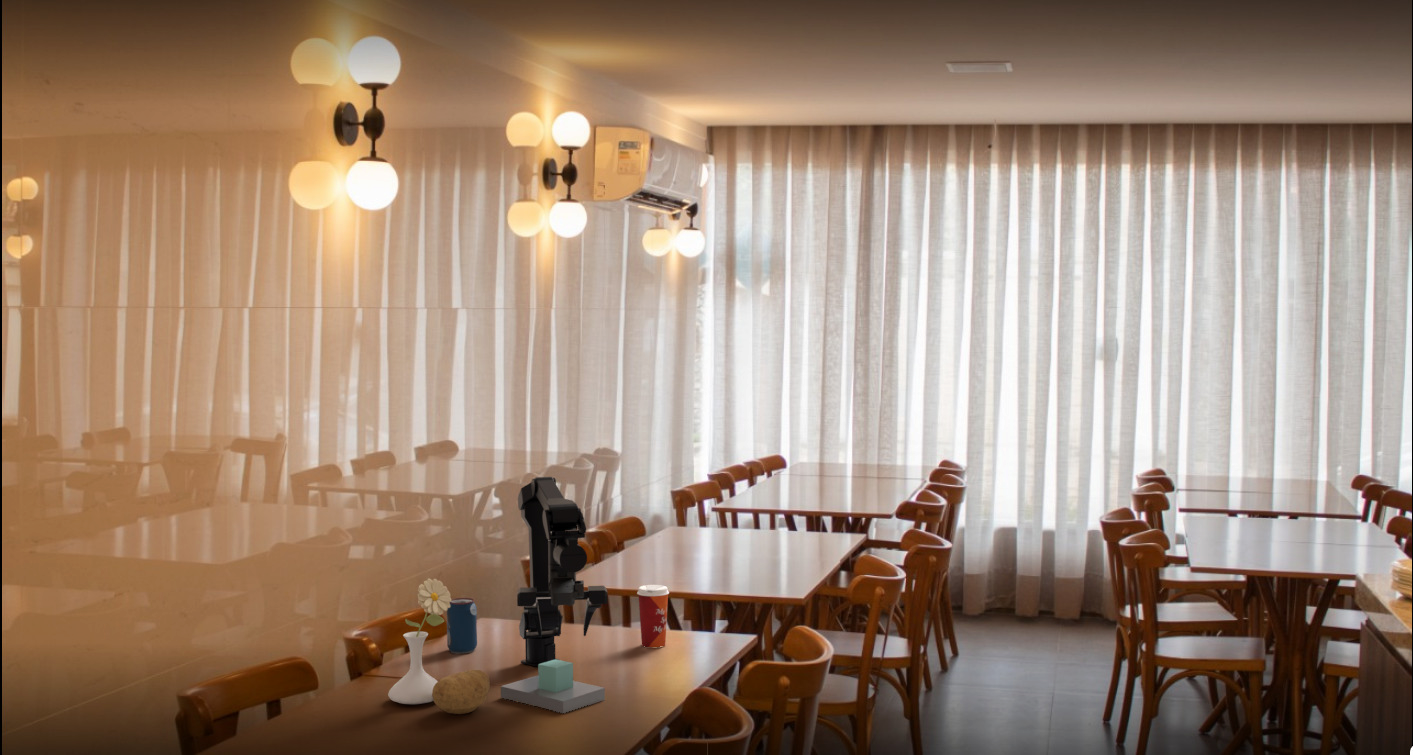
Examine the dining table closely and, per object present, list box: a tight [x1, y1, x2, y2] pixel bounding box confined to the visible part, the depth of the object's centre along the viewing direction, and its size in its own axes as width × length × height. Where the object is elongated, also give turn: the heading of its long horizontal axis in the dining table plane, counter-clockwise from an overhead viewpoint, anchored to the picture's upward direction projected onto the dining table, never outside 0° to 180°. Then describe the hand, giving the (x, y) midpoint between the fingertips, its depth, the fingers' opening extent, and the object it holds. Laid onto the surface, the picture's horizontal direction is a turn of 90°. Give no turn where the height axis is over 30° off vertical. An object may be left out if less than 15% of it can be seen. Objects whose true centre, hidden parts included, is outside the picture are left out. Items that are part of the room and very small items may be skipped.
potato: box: [432, 668, 491, 715], centre depth 263 cm, size 10×14×8 cm
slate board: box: [500, 674, 606, 714], centre depth 271 cm, size 18×12×2 cm, turn 52°
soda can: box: [446, 597, 478, 655], centre depth 312 cm, size 7×7×12 cm
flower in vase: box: [387, 578, 452, 705], centre depth 270 cm, size 13×11×25 cm
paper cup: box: [636, 584, 670, 648], centre depth 316 cm, size 8×8×14 cm
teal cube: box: [537, 658, 574, 692], centre depth 270 cm, size 5×5×5 cm
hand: (562, 636), depth 278 cm, fingers open, 9 cm apart
